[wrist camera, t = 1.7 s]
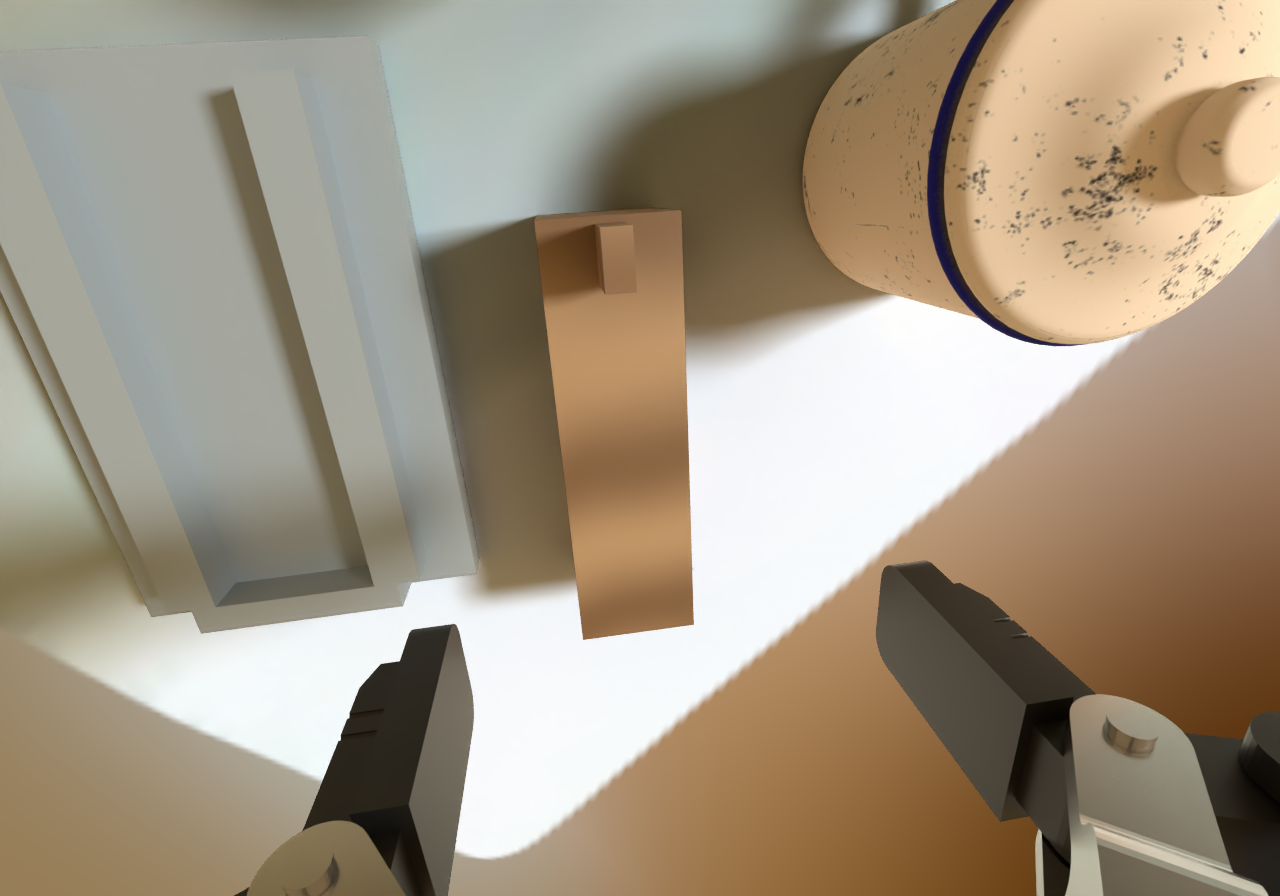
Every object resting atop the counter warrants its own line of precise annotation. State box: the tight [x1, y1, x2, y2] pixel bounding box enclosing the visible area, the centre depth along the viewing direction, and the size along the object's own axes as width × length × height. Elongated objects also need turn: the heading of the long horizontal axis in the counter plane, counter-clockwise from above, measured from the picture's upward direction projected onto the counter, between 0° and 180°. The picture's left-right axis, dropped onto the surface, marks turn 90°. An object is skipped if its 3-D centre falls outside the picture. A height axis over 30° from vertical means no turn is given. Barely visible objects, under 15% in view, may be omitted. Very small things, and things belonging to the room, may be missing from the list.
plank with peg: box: [534, 208, 694, 640], centre depth 20 cm, size 14×4×7 cm, turn 3°
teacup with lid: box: [803, 0, 1280, 346], centre depth 16 cm, size 12×9×12 cm
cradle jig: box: [0, 36, 479, 633], centre depth 20 cm, size 18×12×3 cm, turn 3°
